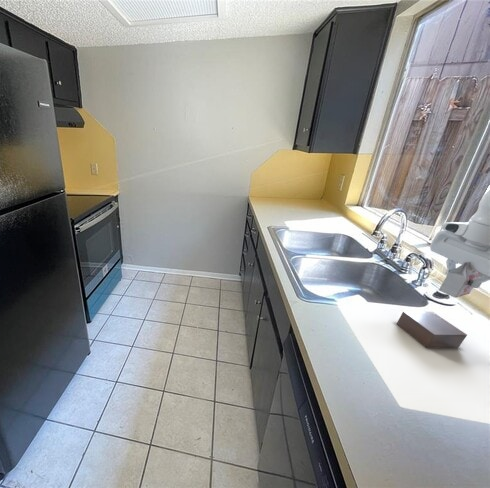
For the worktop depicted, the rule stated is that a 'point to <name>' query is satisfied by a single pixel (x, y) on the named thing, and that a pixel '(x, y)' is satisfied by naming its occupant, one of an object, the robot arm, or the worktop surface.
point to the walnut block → (431, 330)
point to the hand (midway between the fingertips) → (460, 280)
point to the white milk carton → (459, 281)
